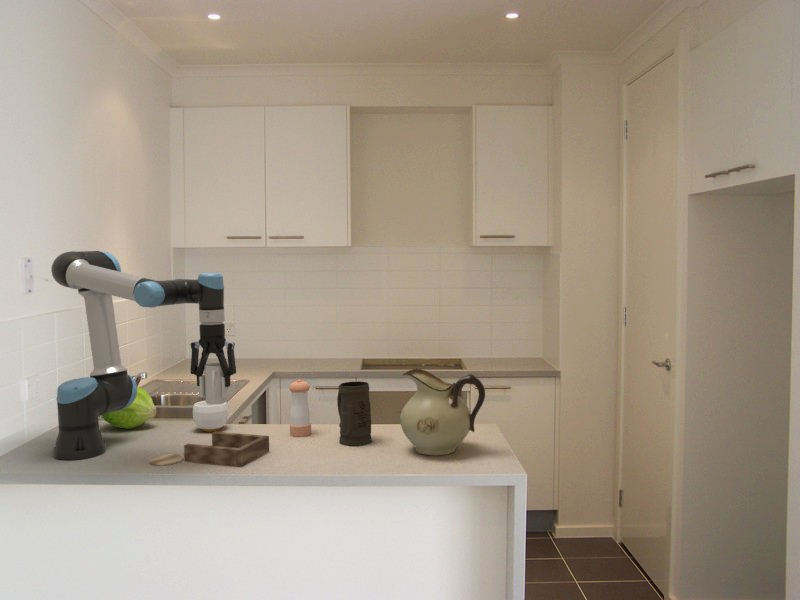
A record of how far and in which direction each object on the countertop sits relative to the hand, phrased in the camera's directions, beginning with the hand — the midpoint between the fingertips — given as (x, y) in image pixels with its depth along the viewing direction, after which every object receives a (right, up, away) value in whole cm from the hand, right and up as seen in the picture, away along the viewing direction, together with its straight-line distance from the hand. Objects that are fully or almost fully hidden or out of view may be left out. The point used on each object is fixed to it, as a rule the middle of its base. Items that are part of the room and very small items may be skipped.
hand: (214, 396), depth 216 cm
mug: (0, -2, 0) cm, 2 cm away
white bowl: (-10, -17, +34) cm, 39 cm away
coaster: (-14, -19, -3) cm, 24 cm away
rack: (+3, -19, +1) cm, 19 cm away
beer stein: (+41, -17, +17) cm, 48 cm away
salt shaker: (+23, -17, +26) cm, 39 cm away
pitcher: (+70, -18, +4) cm, 72 cm away
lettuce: (-41, -17, +39) cm, 59 cm away
